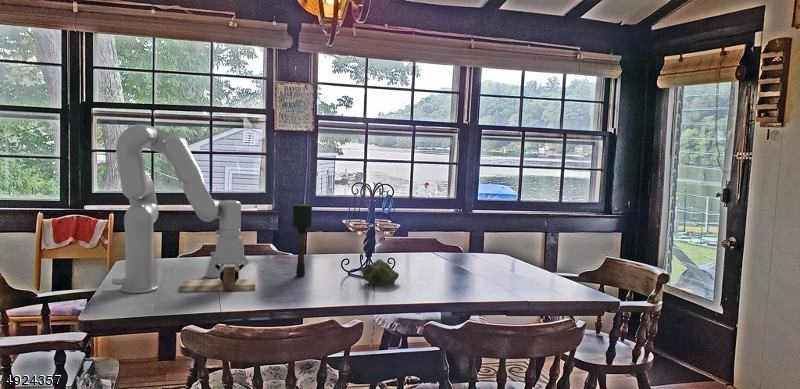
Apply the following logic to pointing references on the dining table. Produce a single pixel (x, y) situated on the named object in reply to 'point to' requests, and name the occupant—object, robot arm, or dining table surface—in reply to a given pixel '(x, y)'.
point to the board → (216, 285)
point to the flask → (212, 269)
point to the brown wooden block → (229, 278)
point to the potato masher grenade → (301, 231)
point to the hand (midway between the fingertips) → (229, 281)
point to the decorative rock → (379, 273)
